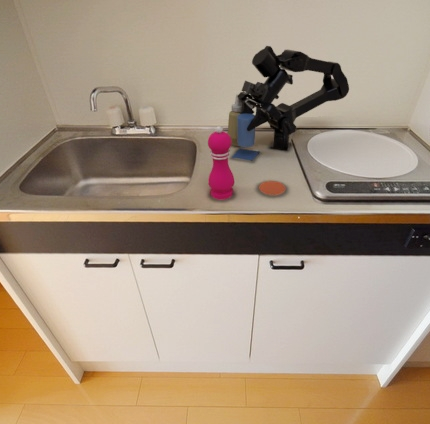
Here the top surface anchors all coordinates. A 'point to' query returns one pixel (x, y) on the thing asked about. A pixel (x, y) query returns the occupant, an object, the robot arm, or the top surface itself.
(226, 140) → the pepper mill
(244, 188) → the top surface
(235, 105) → the squeeze bottle
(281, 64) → the robot arm
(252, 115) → the blue tin
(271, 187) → the terracotta mat
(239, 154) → the blue mat
